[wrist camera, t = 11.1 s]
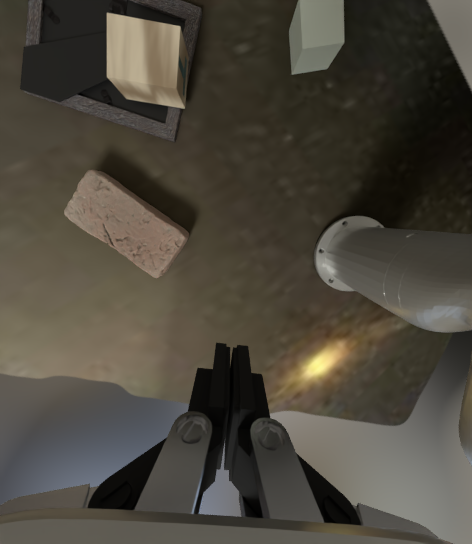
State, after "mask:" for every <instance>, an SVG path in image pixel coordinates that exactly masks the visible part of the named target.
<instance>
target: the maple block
mask: <svg viewBox="0 0 472 544" xmlns="http://www.w3.org/2000/svg"><path fill="white" fill-rule="evenodd" d="M188 60H189V57H188V53H187V49H186V46H185V42H184V38H183V34H182V31H181V27H180V26H176V25H171V24H165V23H160V22H155V21H149V20H144V19H138V18H133V17H128V16H122V15H117V14H112V13H107V78H108V79H109V80H110V81H111V82H112V83H113V84H114V85H115V87H116V88H117V89H118V90H119V91H120V92H121V93H122V94H123V96H124V97H125V98H126V99H129V100H135V101H141V102H147V103H153V104H159V105H165V106H171V107H177V108H183V109H185V102H186V88H187V74H188Z"/></svg>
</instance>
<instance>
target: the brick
mask: <svg viewBox="0 0 472 544" xmlns="http://www.w3.org/2000/svg"><path fill="white" fill-rule="evenodd" d="M64 214H65V215H66V216H67V217H68V219H69V220H71V221H72V222H74V223H75V224H77V225H78V226H79V227H81V228H82V229H83V230H85V231H86V232H88V233H89V234H91V235H93V236H95V237H97V238H99V239H100V240H101V241H103V242H105V243H109V246H111V247H113V248H115V249H116V250H117V251H118V252H120V253H121V254H123V255H124V256H126V257H127V258H128V259H129V260H130V261H133V263H134V264H136V265H137V266H138V267H140V268H141V269H143V270H144V271H146V272H147V273H149V274H150V275H151V276H153V277H155V278H157V277H159V276H162V275H163V274H164V273H165V272H166V271H167V270H168V269H169V267H170V266H171V264H172V263H173V261H174V259H175V258H176V257H177V255H178V254H179V252H180V251H181V250H182V248H183V247H184V245H185V243H186V242H187V240H188V238H189V233H188V231H186V230H185V229H184V228H183V227H181V226H180V225H178V224H177V223H175V222H173V221H172V220H171V219H170V218H169V217H168V216H166V215H164V214H163V213H161V212H160V211H159V210H157V209H156V208H154V207H153V206H151V205H149V204H148V203H147V202H145V201H144V200H142V199H141V198H139V197H138V196H136V195H135V194H134V193H132V192H131V191H129V190H128V189H127V188H125V187H124V186H123V185H122V184H120V183H119V182H118V181H117V180H115V179H113V178H112V177H110V176H109V175H107V174H106V173H104V172H102V171H97V170H88V171H87V173H86V174H85V176H84V177H83V178H82V179H81V181H80V182H79V183H78V188H77V190H76V192H75V193H74V195H73V198H72V199H71V200H70V201H69V202H68V205H67V207H66V209H65V212H64Z"/></svg>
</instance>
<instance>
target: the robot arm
mask: <svg viewBox="0 0 472 544" xmlns="http://www.w3.org/2000/svg"><path fill="white" fill-rule="evenodd" d="M342 223H344V224H343V225H342ZM319 249H321V251H320V252H319ZM314 263H315V267H316V270H317V273H318V274H319V276H320V277H321V279H322V280H323V281H324V282H325V283H327V284H328V285H329V286H331V287H333V288H335V289H338V290H341V291H357V292H359V293H361V294H362V295H364V296H365V297H367V298H369V299H370V300H372V301H374V302H375V303H377V304H379V305H380V306H382V307H384V308H385V309H387V310H389V311H390V312H392V313H394V314H395V315H397V316H399V317H401V318H402V319H404V320H406V321H407V322H409V323H411V324H413V325H415V326H417V327H420V328H423V329H426V330H430V331H436V332H459V331H467V330H472V234H458V233H445V232H431V231H418V230H405V229H393V228H384V226H383V225H382V224H380V223H379V222H378V221H376V220H374V219H372V218H369V217H365V216H349V217H345V218H342V219H340V220H338V221H336V222H334V223H333V224H331V225H330V226H329V227H328V228H327V229H326V230H325V231H324V232H323V233H322V235H321V236H320V238H319V240H318V242H317V244H316V247H315V251H314ZM329 279H330V280H329ZM459 437H460V442H461V446H462V448H463V450H464V453H465V455H466V458H467V459H468V461H469V463H470V464H471V466H472V353H471V364H470V369H469V373H468V378H467V382H466V387H465V391H464V396H463V400H462V406H461V411H460V419H459ZM224 441H225V463H224V470H229V481H232V483H233V484H234V486H235V487H236V488H237V489H238V490H239V503H240V510H241V517H234V516H217V515H204V514H200V510H201V506H202V502H203V497H204V492H205V491H206V489H208V487H209V486H210V485H211V484H212V483H213V482H214V481H215V476H216V469H220V467H221V461H222V454H223V448H224ZM0 544H453V543H450V542H447V541H445V540H442V539H439V538H438V537H437V536H436V535H435V534H433V533H432V532H431V531H430V530H429V529H427V528H426V527H424V526H422V525H420V524H418V523H415V522H412V521H410V520H406V519H404V518H401V517H398V516H395V515H392V514H389V513H386V512H383V511H380V510H378V509H374V508H372V507H369V506H366V505H363V504H360V503H358V504H357V506H354V505H352V504H351V503H350V501H349V500H348V499H347V498H346V497H345V496H344V495H343V494H342V493H340V492H339V491H338V490H337V489H336V488H335V487H334V486H333V485H331V484H330V483H329V482H328V481H327V480H326V479H325V478H324V477H323V476H321V475H320V474H319V473H318V472H317V471H316V470H315V469H313V468H312V467H311V466H310V465H309V464H308V463H307V462H306V461H304V460H303V459H302V458H301V457H300V456H299V455H298V454H297V453H296V452H295V449H294V447H293V445H292V442H291V440H290V437H289V435H288V433H287V431H286V429H285V428H284V427H283V426H282V424H280V423H279V422H278V421H276V420H274V419H271V418H270V414H269V409H268V403H267V398H266V393H265V388H264V382H263V377H262V375H261V374H255V373H251V366H250V358H249V350H248V346H242V345H237V348H234V347H233V352H232V359H231V366H230V347H226V344H223V343H216V348H215V357H214V365H213V369H204V368H198V369H197V373H196V377H195V382H194V386H193V391H192V395H191V400H190V404H189V409H188V412H186V413H184V414H182V415H180V416H179V417H178V418H177V419H176V420H175V422H174V424H173V426H172V428H171V430H170V432H169V434H168V437H167V438H166V439H164V440H163V441H161V442H160V443H158V444H157V445H155V446H154V447H152V448H151V449H149V450H148V451H147V452H145V453H144V454H142V455H141V456H139V457H138V458H136V459H135V460H133V461H132V462H131V463H129V464H128V465H127V466H125V467H123V468H122V469H120V470H119V471H117V472H116V473H115V474H113V475H112V476H110V477H109V478H107V479H106V480H105V481H104V482H103V483H101V484H100V485H99V486H97V487H91V488H90V484H86V485H81V486H76V487H70V488H64V489H59V490H54V491H49V492H43V493H38V494H32V495H26V496H21V497H17V498H14V499H12V500H9V501H7V502H5V503H4V504H2V505H0Z"/></svg>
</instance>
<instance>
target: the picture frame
mask: <svg viewBox="0 0 472 544" xmlns="http://www.w3.org/2000/svg"><path fill="white" fill-rule="evenodd" d="M107 13H112V14H117V15H122V16H128V17H133V18H138V19H144V20H149V21H155V22H160V23H165V24H171V25H176V26H180V27H181V31H182V34H183V38H184V42H185V46H186V49H187V53H188V57H189V60H188V74H187V84H188V79H189V75H190V70H191V65H192V60H193V56H194V51H195V46H196V41H197V37H198V32H199V27H200V22H201V18H202V9H201V8H200V7H197V6H195V5H192V4H190V3H187V2H185V1H182V0H29V1H28V17H27V34H26V47H24V52H23V64H22V75H21V86H20V89H21V90H23V91H25V92H26V93H28V94H30V95H33V96H36V97H39V98H42V99H45V100H48V101H51V102H54V103H57V104H60V105H63V106H66V107H69V108H73V109H76V110H79V111H82V112H85V113H88V114H91V115H94V116H97V117H100V118H103V119H106V120H109V121H112V122H115V123H118V124H121V125H124V126H127V127H130V128H133V129H136V130H139V131H142V132H145V133H148V134H151V135H154V136H157V137H160V138H163V139H166V140H169V141H172V142H175V141H176V137H177V132H178V127H179V122H180V117H181V113H182V108H177V107H171V106H165V105H159V104H153V103H147V102H141V101H135V100H129V99H126V98H125V97H124V96H123V94H122V93H121V92H120V91H119V90H118V89H117V88H116V87H115V85H114V84H113V83H112V82H111V81H110V80H109V79H108V78H107ZM186 89H187V88H186Z"/></svg>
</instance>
